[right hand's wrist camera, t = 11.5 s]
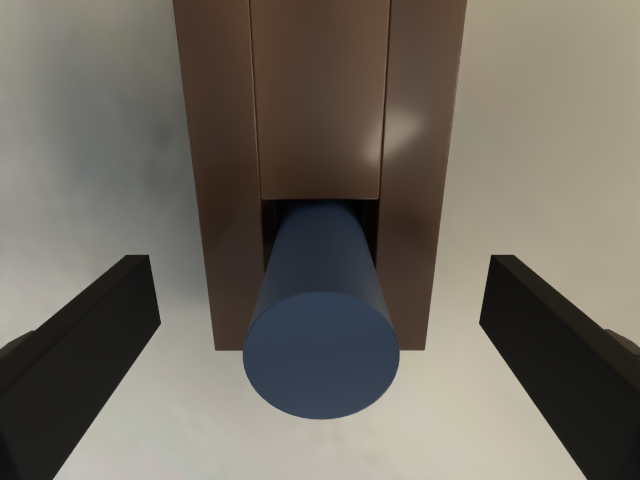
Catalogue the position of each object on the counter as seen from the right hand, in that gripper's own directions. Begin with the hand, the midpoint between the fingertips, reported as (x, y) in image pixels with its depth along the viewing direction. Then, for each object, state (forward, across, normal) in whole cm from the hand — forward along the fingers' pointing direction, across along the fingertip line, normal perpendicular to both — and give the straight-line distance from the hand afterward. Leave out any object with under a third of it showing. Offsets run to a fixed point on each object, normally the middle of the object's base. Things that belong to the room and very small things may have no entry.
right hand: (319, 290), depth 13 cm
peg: (+8, 0, 0) cm, 8 cm away
